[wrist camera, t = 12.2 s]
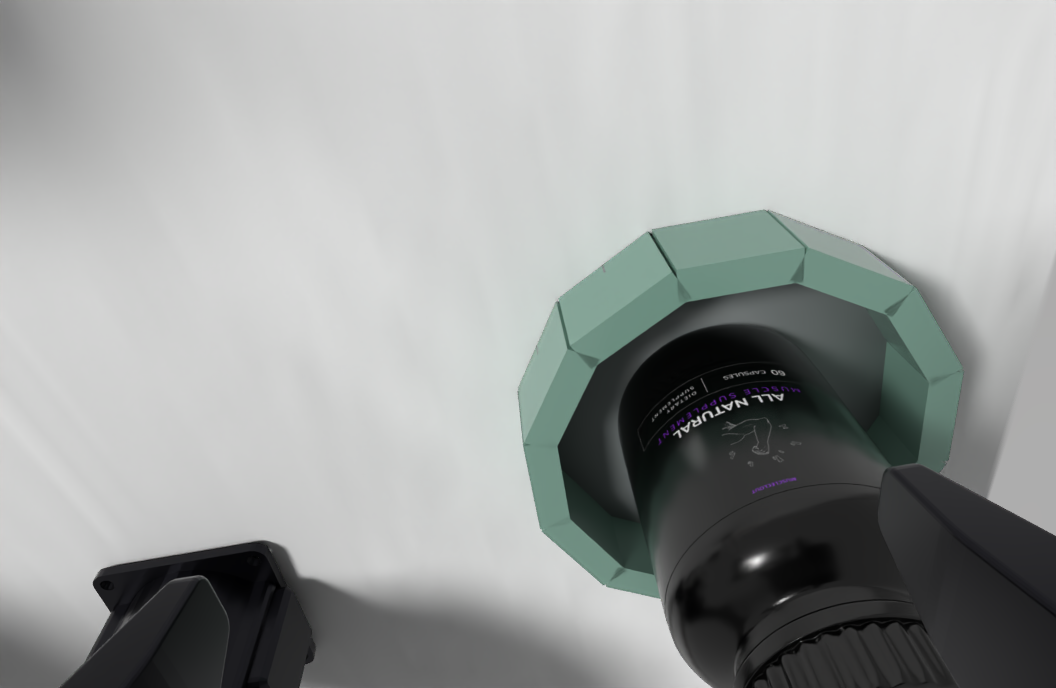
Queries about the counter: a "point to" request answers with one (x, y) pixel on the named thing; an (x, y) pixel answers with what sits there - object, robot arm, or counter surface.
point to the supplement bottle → (767, 519)
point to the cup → (707, 300)
